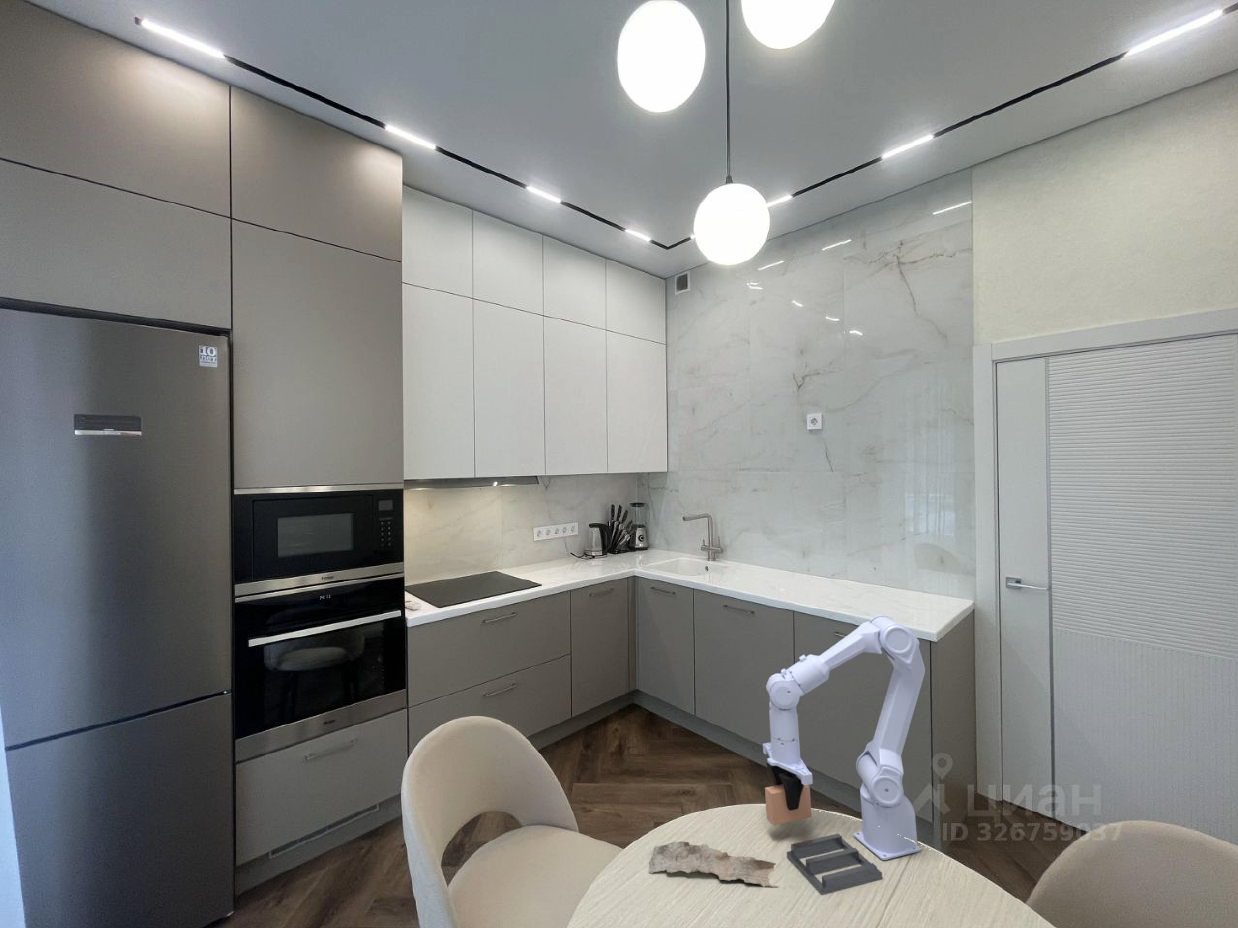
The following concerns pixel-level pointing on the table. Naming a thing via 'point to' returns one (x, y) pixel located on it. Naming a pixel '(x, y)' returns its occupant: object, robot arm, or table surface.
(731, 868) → the stone fragment
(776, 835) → the table surface
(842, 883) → the drying rack
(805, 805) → the terracotta strip
